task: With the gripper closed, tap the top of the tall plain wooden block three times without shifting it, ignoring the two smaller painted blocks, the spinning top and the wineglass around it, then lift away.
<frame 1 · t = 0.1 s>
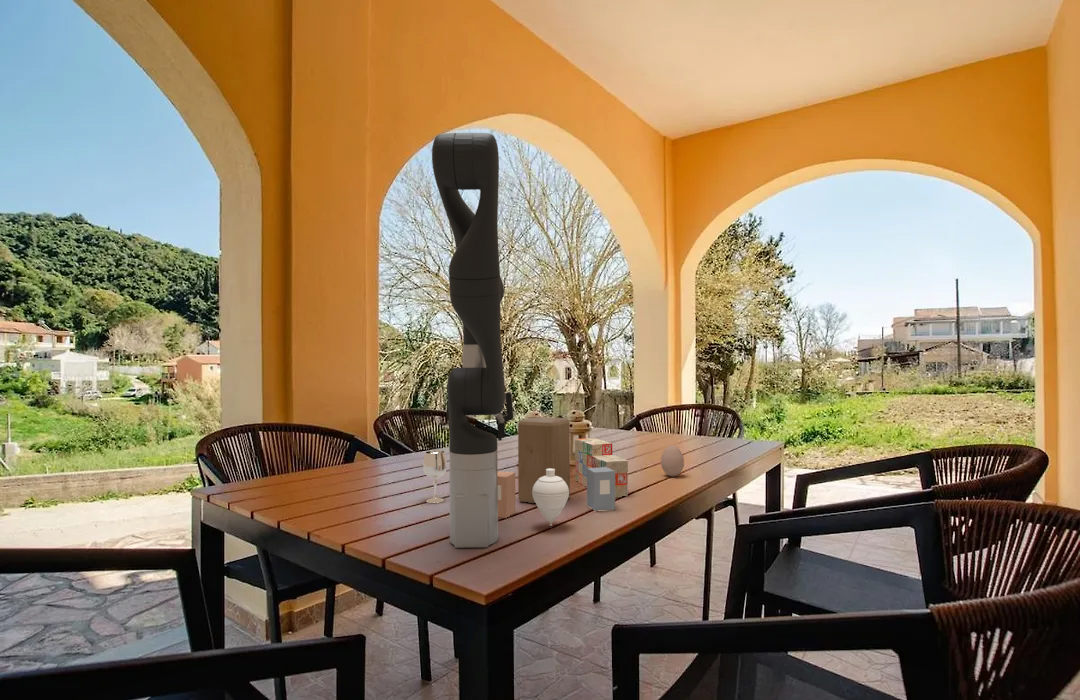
hand: (480, 440, 120), 17 cm above the table, tool pointing down, fingers open, 8 cm apart
stack of blocks: (600, 489, 149), on the table
egg: (672, 477, 163), on the table
terracotta painted block: (500, 514, 125), on the table
wineglass: (435, 501, 137), on the table
slate painted block: (600, 508, 129), on the table
wooden block: (544, 500, 137), on the table
spinning top: (550, 528, 115), on the table
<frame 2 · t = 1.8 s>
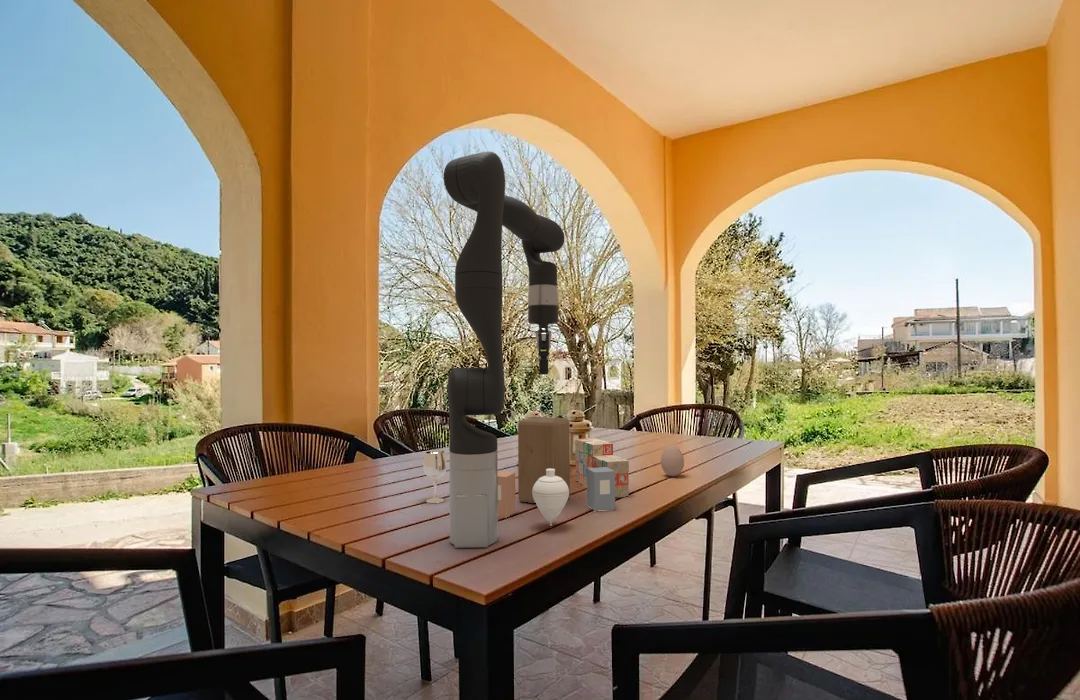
hand: (543, 373, 137), 31 cm above the table, tool pointing down, fingers open, 3 cm apart
nothing on the table moved.
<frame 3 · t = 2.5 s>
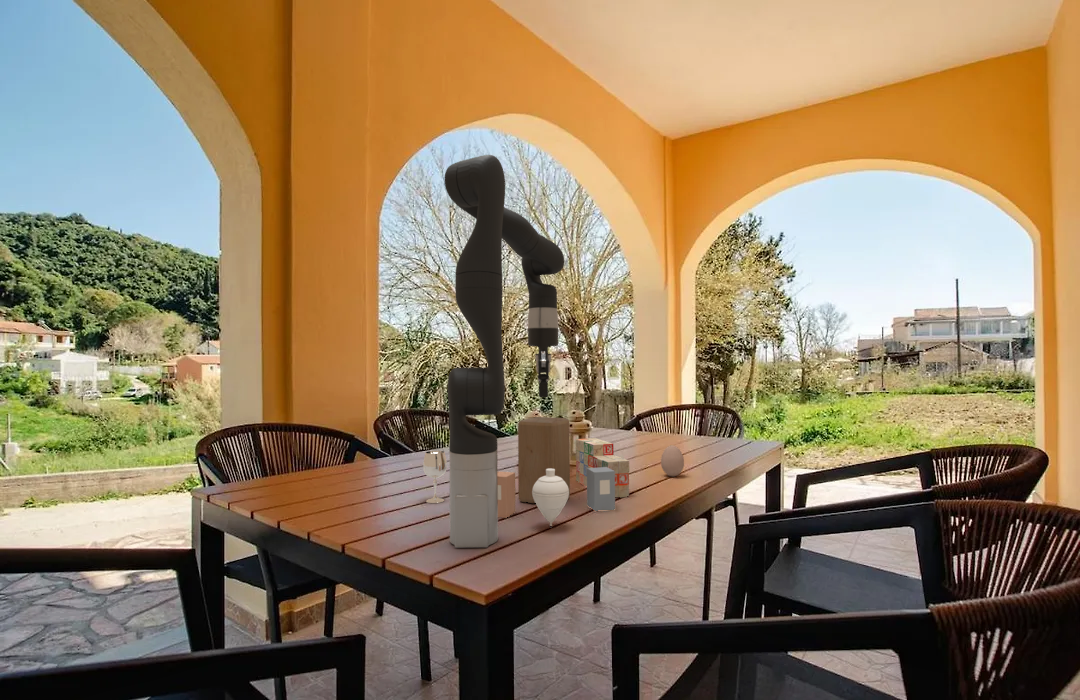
hand: (543, 396, 137), 25 cm above the table, tool pointing down, fingers closed
nothing on the table moved.
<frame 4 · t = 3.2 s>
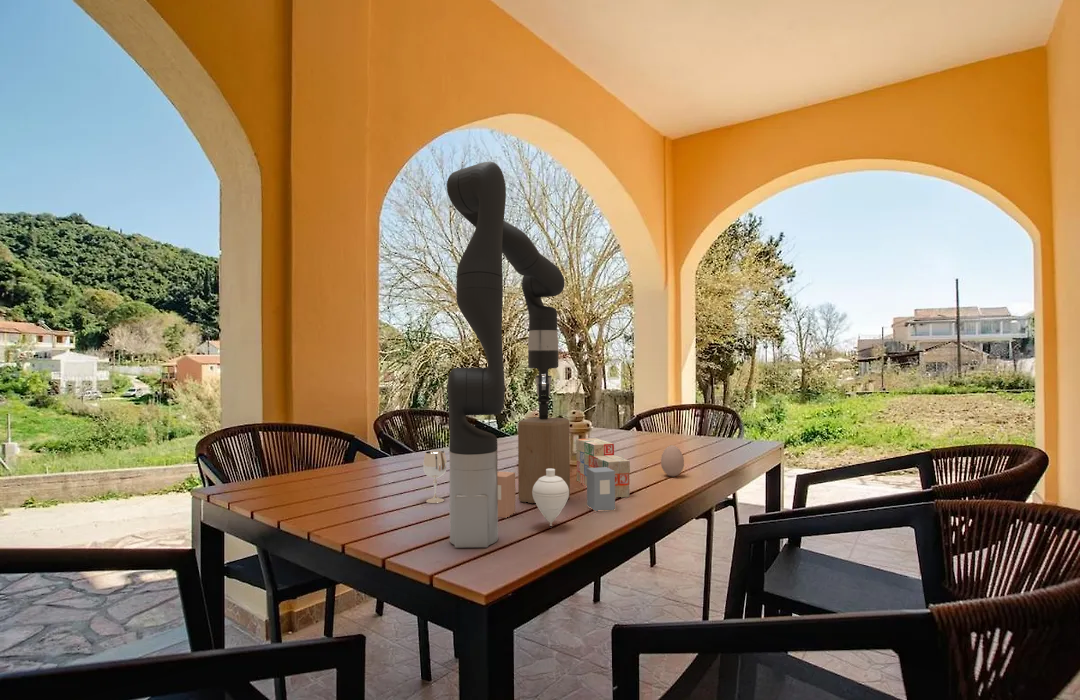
hand: (543, 419, 137), 20 cm above the table, tool pointing down, fingers closed
wooden block: (544, 500, 137), on the table, touching gripper
everything else where it was.
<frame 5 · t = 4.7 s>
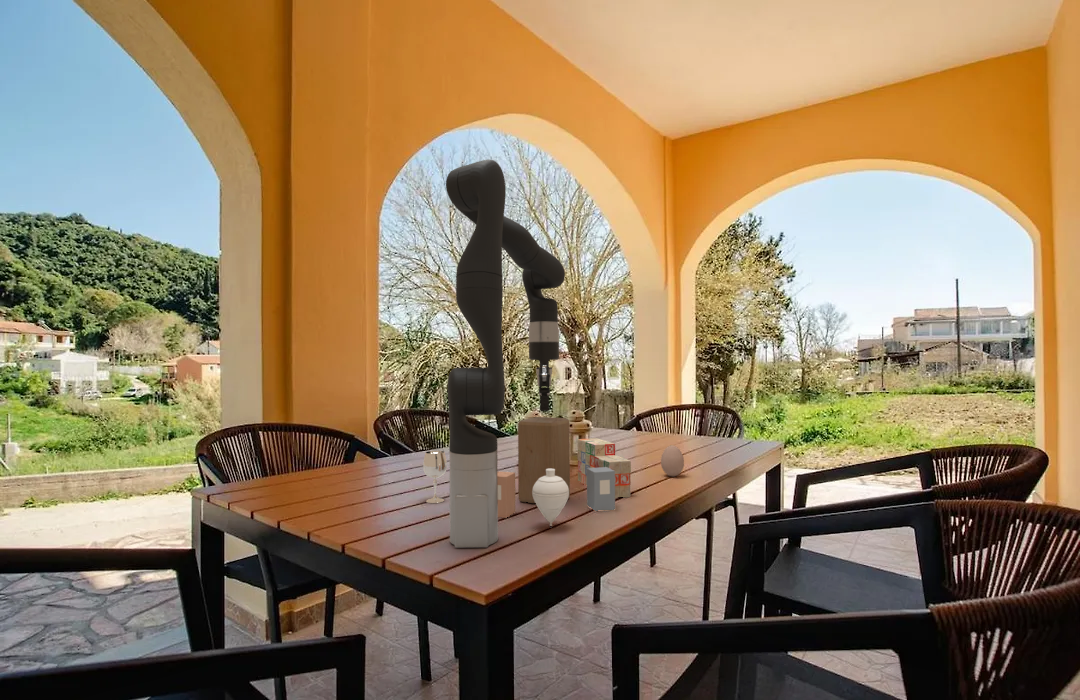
hand: (544, 410, 137), 22 cm above the table, tool pointing down, fingers closed
wooden block: (544, 500, 137), on the table
everything else where it was.
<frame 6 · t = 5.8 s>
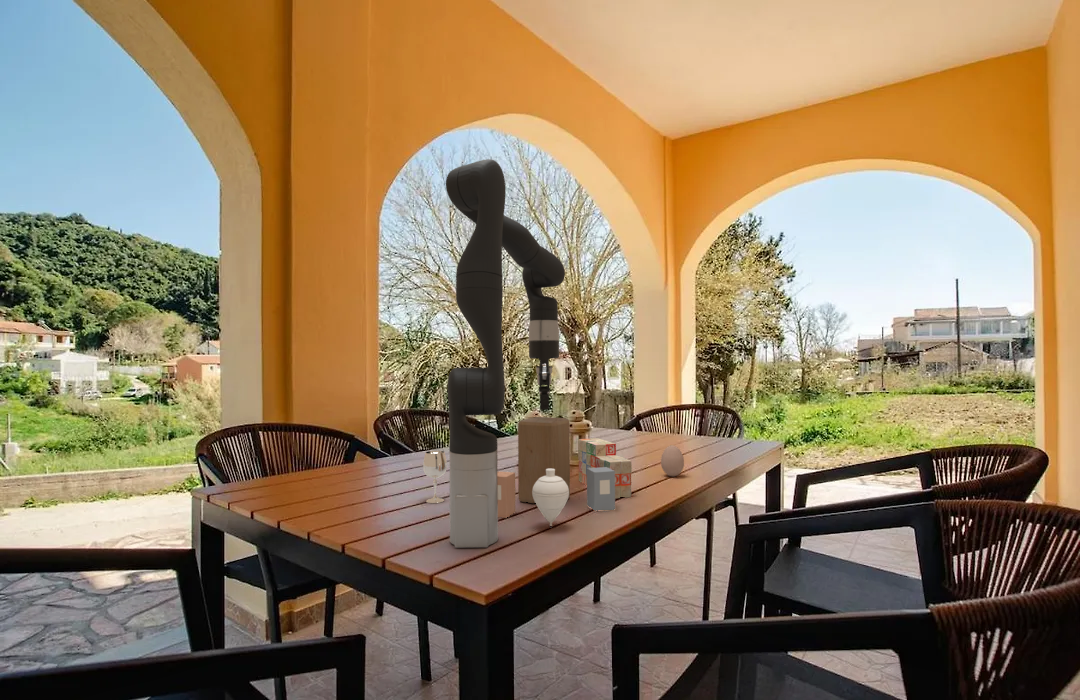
hand: (544, 409, 137), 22 cm above the table, tool pointing down, fingers closed
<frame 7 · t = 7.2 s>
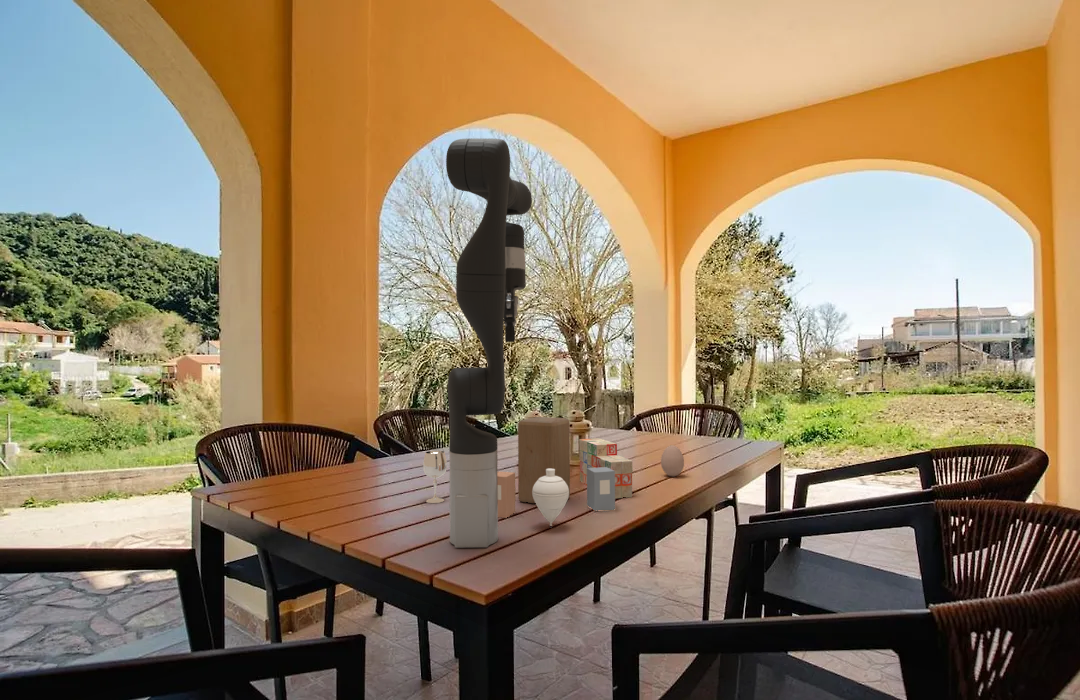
hand: (510, 341, 131), 39 cm above the table, tool pointing down, fingers closed
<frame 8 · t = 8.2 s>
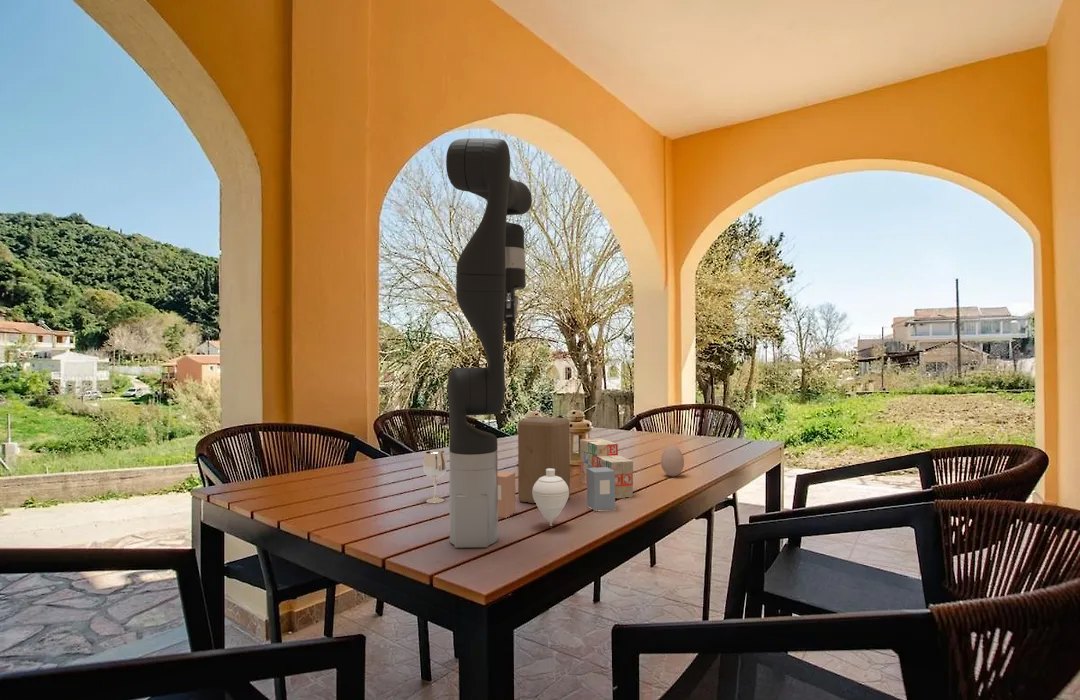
hand: (510, 341, 131), 39 cm above the table, tool pointing down, fingers closed
at the end: wooden block moved 0.2 cm from its start; wooden block tilted 0°; wooden block touching table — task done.
